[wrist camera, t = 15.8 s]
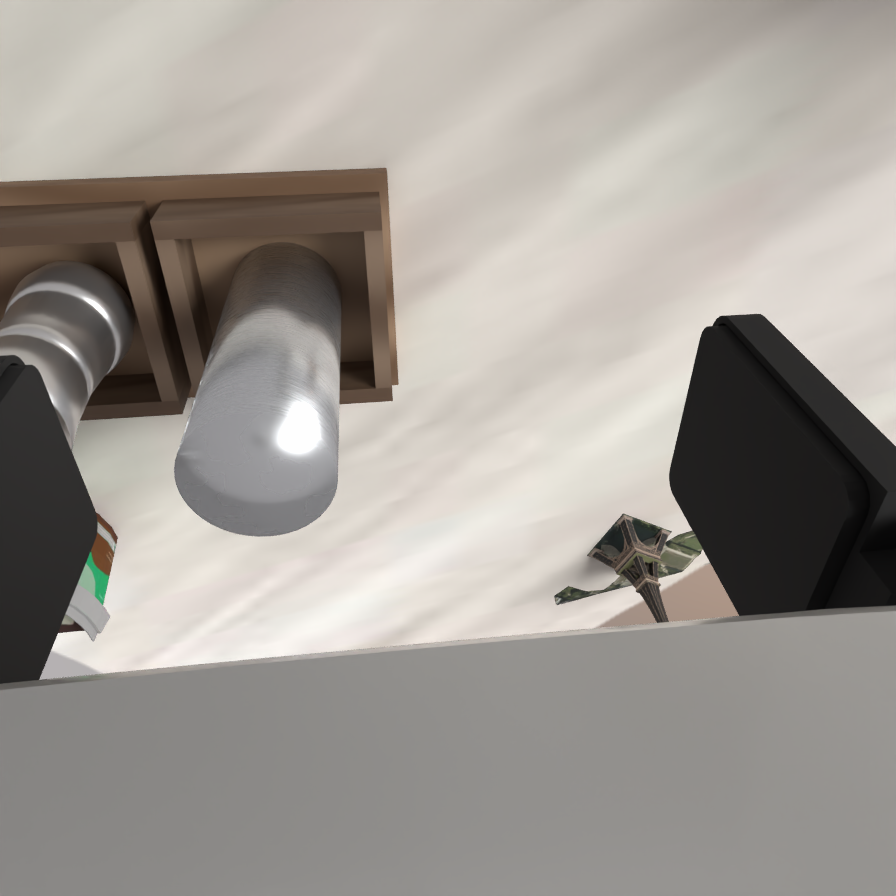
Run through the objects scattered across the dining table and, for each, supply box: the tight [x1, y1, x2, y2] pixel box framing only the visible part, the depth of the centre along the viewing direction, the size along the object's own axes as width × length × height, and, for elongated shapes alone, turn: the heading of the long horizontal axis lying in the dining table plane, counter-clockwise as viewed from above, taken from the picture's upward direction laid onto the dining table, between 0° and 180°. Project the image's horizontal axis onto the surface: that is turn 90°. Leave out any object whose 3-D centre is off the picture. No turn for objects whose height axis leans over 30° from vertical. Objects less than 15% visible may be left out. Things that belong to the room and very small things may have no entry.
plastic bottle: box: [0, 261, 135, 451], centre depth 35 cm, size 6×7×20 cm
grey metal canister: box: [174, 242, 342, 536], centre depth 37 cm, size 7×7×18 cm
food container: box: [58, 513, 118, 641], centre depth 50 cm, size 12×6×10 cm, turn 91°
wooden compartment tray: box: [0, 168, 398, 421], centre depth 43 cm, size 14×26×4 cm, turn 90°
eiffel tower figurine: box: [554, 514, 710, 623], centre depth 58 cm, size 15×10×13 cm
